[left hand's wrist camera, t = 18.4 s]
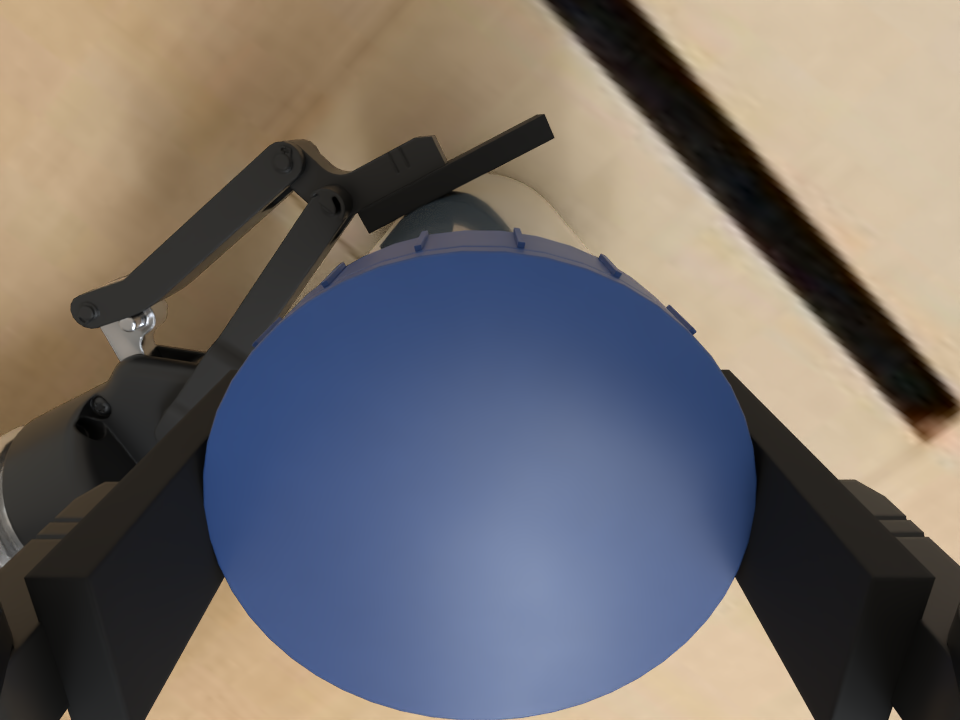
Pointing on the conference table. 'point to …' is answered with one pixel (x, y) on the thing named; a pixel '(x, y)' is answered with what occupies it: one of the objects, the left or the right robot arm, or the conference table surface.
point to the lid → (479, 478)
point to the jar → (484, 213)
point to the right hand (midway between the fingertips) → (599, 254)
